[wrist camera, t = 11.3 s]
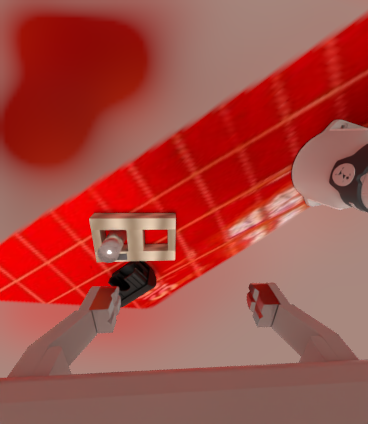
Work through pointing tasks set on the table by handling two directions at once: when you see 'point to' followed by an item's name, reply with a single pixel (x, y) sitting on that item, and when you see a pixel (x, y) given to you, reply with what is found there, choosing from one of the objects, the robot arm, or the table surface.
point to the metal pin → (112, 246)
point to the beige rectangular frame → (136, 234)
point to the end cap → (133, 281)
